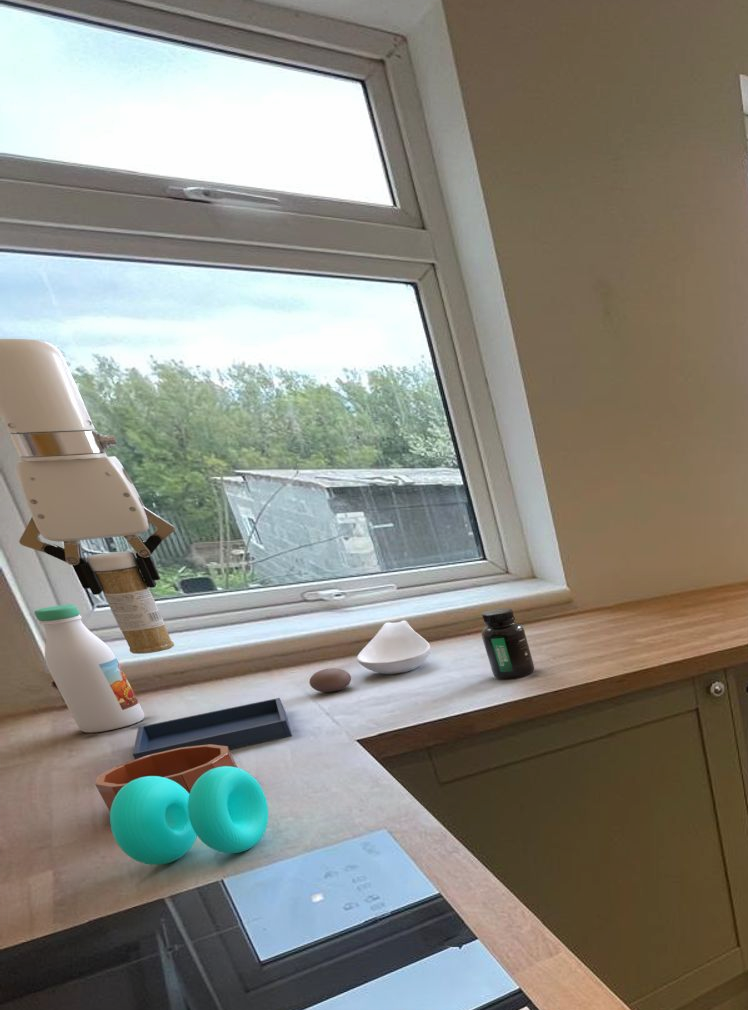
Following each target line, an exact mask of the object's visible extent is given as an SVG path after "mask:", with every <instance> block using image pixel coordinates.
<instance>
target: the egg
mask: <svg viewBox="0 0 748 1010" xmlns="http://www.w3.org/2000/svg"><path fill="white" fill-rule="evenodd" d="M351 681H352V676H351V674H350V673H349V672H348V671H347V670H345V669H342V668H338V667H337V668H335V667H329V668H324V669H321V670H319V671H318V670H317V672H315V673H313V674H312V675H311V676H310V678H309V682H308V683H309V686H310V687H311V688H312V689H313V690H315V691H318V692H320V693H321V692H322V693H334V692H338V691H341V690H343V689H345V688H346V687H348V686H349V685H350V683H351Z"/></svg>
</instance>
